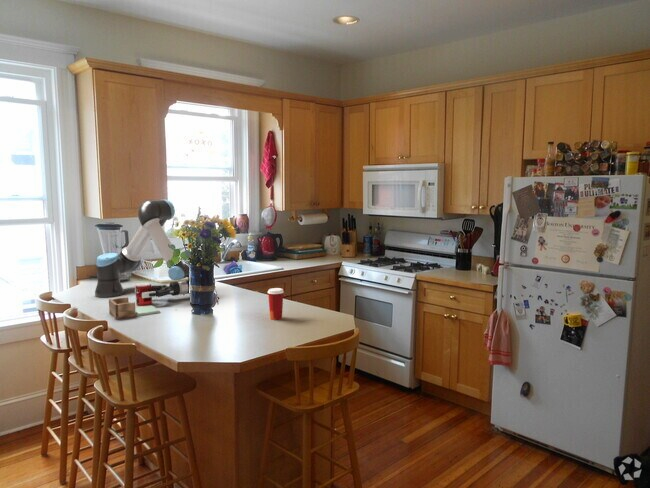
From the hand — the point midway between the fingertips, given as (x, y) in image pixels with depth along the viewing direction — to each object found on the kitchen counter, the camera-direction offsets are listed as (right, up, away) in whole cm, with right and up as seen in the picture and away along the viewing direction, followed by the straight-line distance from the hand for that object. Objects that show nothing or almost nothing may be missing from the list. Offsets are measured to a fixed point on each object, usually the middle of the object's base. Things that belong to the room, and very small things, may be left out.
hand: (138, 293), depth 261 cm
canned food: (+2, -6, +2) cm, 7 cm away
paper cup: (+75, -10, -25) cm, 80 cm away
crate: (+4, -8, -15) cm, 18 cm away
